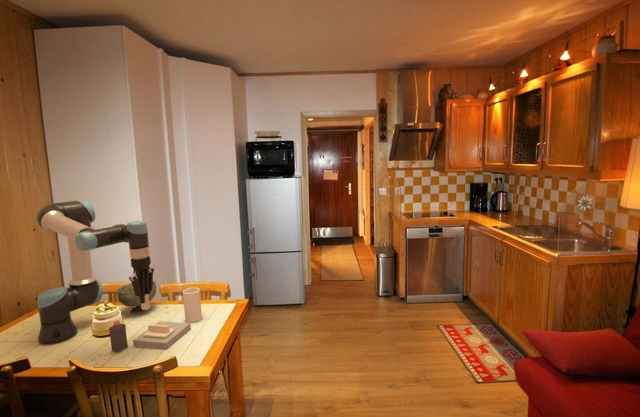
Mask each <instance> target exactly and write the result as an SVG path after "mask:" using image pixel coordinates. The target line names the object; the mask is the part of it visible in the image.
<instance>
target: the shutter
mask: <svg viewBox="0 0 640 417" xmlns="http://www.w3.org/2000/svg"><path fill="white" fill-rule="evenodd" d="M147 328H148V329H147V330H149V331H147V330H146V331H147V332H146V333H145V334H143V336H145V337H157V338H166V337H168V336H169V335H170V334H171V333H173V332H174V331H175V329H171V328H169V326H167V325H155V324H154V323H153V324H152V323H150V324H148V325H147Z"/></svg>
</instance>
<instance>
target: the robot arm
mask: <svg viewBox="0 0 640 417" xmlns="http://www.w3.org/2000/svg"><path fill="white" fill-rule="evenodd" d="M95 220H96V212H95V209H94V207H93V205H92V204H91V203H90V202H89V201H88V200H71V201H64V202H63V201H62V202H54V203H49V204H46V205H44V206H43V207H41V208H40V209H39V210H38V212H37V214H36V222H37V225H38V226H39V227H40V228H41V229H43V230H45V231H47V232H55V233H57V234H59V235H62V236H63V237H65V238H67V244H68V255H69V262H70V263H69V264H70V269H71V279H70V280H69V282H68V285H69V286H68V287H66V286H62V285H61V286H57V287H52V288H49V289H47V290H44V291H43V292H41V293H40V294H39V295H38V296H37V308H38V315H39V321H40V327H39V328H40V329H39V333H38V337H37V341H38V343H39V345H42V346H50V345H55V344H60V343H62V342H65V341H68V340H70V339H72V338H74V337H75V336H76V335H77V334H78V328H77V326H76V325H75V323H74V321H73V319H72V317H71V316H72V315H71V312H74V311H76V310H79V309H82V308H85V307H88V306H92V305H93V304H96V303H98V302H99V301H100V300H101V298H102V297H103V293H104V288H103V285H102V282H100V280H98V279H97V277H96V276H94V275H93V269H92V267H93V266H92V257H91V251H92V250H95V249H99V248H103V247H108V246H112V245H116V244H121V243H128V247H129V250H128V251H129V257H130V258H131V259H130V266H131V267H132V269H133V272H132V273H133V274H132V276H129V278H128V279H129V281H130V282H131V283H132V286H133V289H134V292H135V296H139V297H140V303H141V308H142V310H148V309H149V308H150V309H151V307H150V301H149V294H151V292H150V291H152V285H153V281H154V271H155V268H152V267H150V265H151V263H152V262H151V256H150V247H149V246H150V245H149V232H148V230H149V229H148V226H147V222H146V221H145V220H133V221H129V222H127V223H126V224H122V223H120V224H113V225H111V226H109V227H108V226H107V227H105V228H103V227H102V228H98V229H95V228H93V227H92V223H93V222H95ZM149 287H150V288H149Z"/></svg>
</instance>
